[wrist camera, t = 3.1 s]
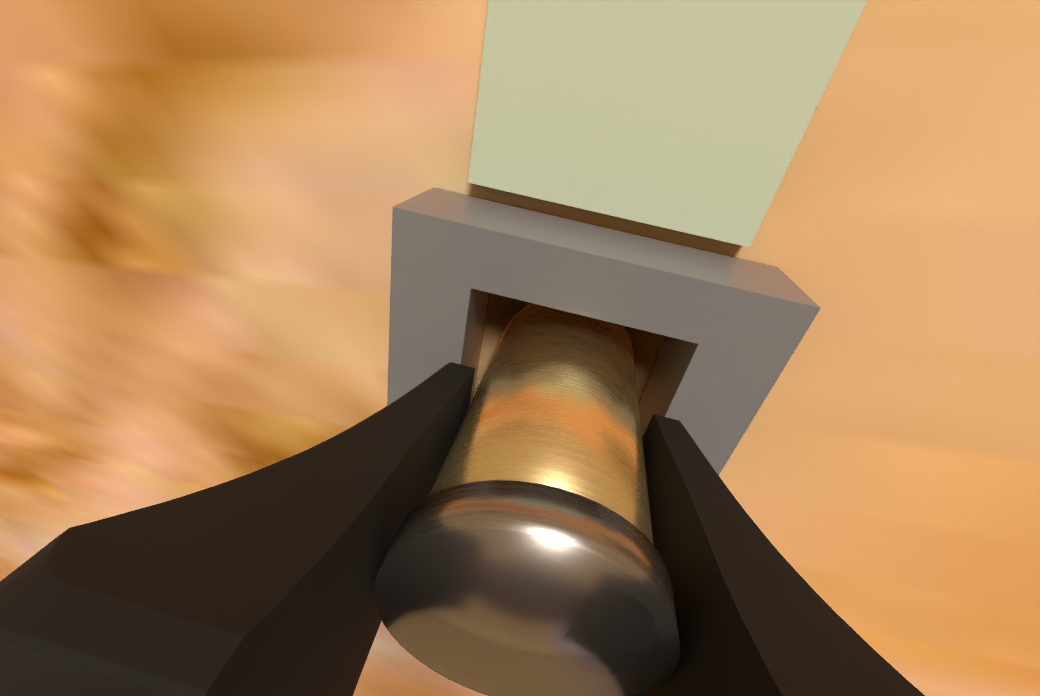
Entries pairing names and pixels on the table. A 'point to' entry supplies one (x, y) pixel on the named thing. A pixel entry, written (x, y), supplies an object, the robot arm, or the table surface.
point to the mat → (653, 104)
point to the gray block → (594, 305)
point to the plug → (539, 528)
